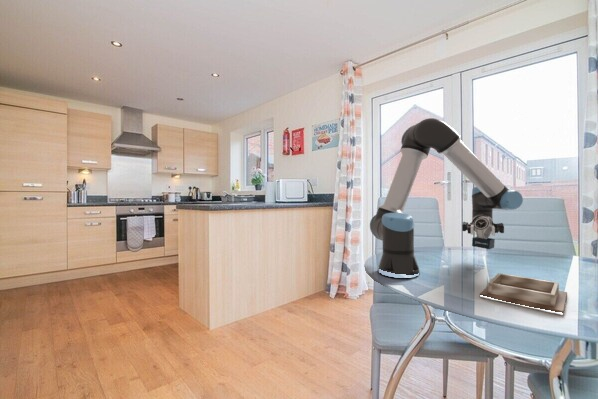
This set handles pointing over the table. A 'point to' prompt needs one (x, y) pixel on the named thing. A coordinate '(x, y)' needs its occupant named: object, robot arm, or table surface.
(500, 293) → the board
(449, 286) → the table surface
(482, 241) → the watch
